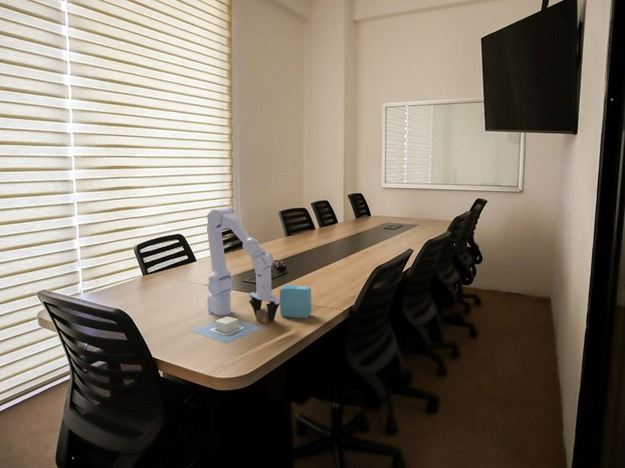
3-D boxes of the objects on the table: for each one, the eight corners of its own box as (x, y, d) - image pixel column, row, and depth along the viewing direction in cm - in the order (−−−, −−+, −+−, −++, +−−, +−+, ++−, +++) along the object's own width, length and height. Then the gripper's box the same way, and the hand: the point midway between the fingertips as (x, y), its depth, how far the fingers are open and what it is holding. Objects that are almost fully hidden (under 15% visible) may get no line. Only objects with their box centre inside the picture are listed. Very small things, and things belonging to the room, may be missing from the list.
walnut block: (256, 323, 173) (256, 311, 172) (264, 320, 177) (264, 307, 176) (265, 325, 171) (265, 313, 170) (273, 322, 174) (272, 310, 173)
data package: (311, 314, 182) (311, 286, 180) (309, 318, 178) (308, 289, 176) (283, 313, 184) (282, 285, 182) (280, 316, 180) (279, 288, 178)
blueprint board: (190, 333, 164) (190, 330, 163) (227, 319, 178) (226, 316, 178) (227, 346, 152) (227, 342, 152) (264, 329, 166) (263, 326, 166)
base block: (215, 329, 164) (215, 320, 163) (227, 325, 169) (227, 316, 168) (226, 333, 160) (226, 324, 160) (238, 328, 165) (238, 319, 165)
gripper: (285, 285, 170) (285, 319, 172) (257, 279, 179) (258, 312, 181) (272, 289, 165) (273, 324, 167) (244, 283, 173) (246, 317, 175)
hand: (264, 318), depth 173 cm, fingers open, 7 cm apart
